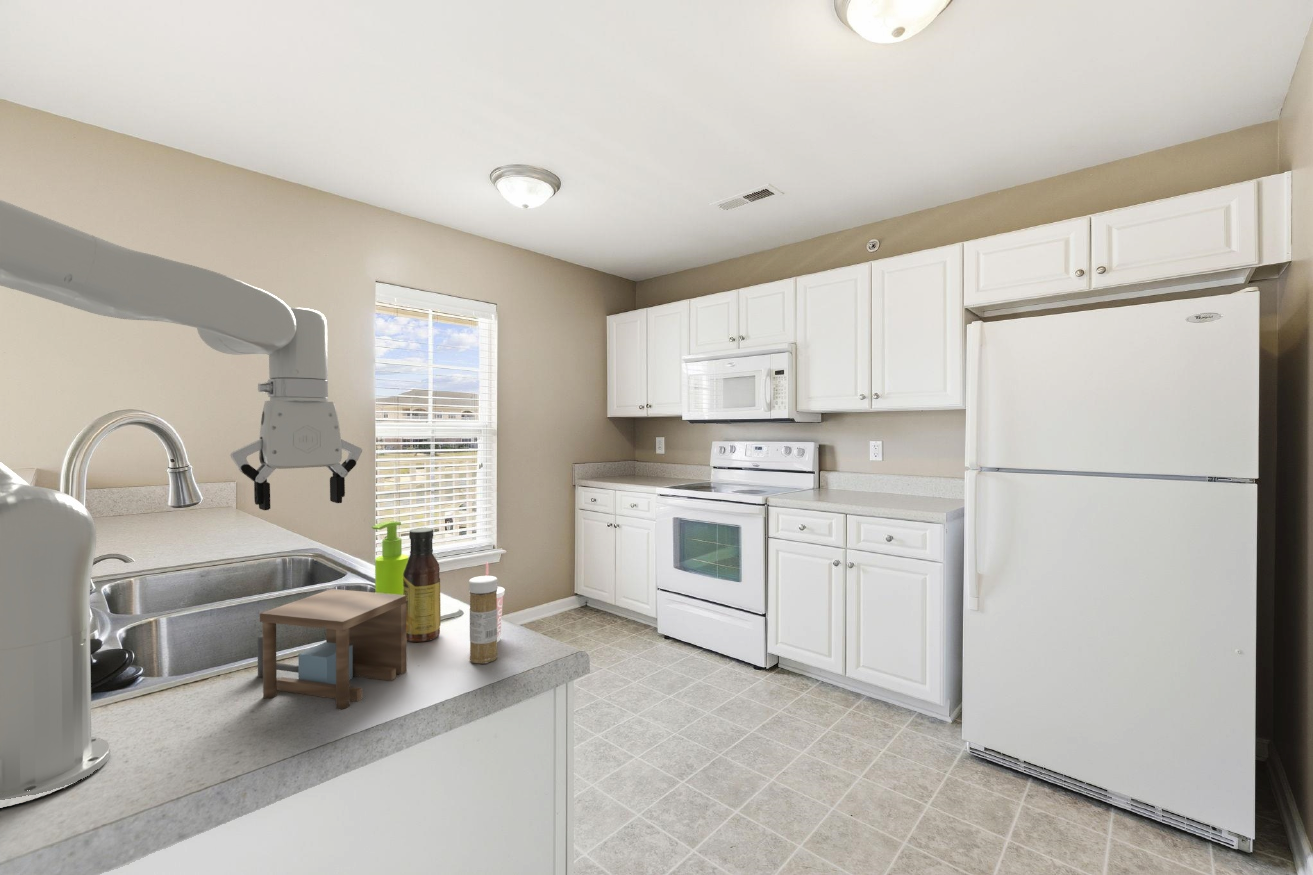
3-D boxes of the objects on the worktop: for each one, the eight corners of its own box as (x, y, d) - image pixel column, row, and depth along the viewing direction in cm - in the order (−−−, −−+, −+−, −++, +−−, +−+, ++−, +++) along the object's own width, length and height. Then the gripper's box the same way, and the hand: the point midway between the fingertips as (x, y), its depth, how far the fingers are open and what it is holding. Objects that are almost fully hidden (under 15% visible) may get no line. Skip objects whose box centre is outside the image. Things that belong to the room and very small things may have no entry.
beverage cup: (489, 648, 102) (489, 568, 102) (461, 643, 105) (461, 564, 104) (511, 637, 108) (511, 560, 108) (484, 632, 110) (484, 557, 110)
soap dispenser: (363, 629, 112) (363, 523, 111) (392, 618, 118) (392, 518, 118) (387, 633, 109) (387, 526, 109) (415, 622, 116) (415, 520, 116)
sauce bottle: (409, 632, 110) (409, 526, 110) (444, 630, 111) (444, 525, 111) (398, 645, 104) (398, 532, 103) (435, 643, 104) (434, 531, 104)
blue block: (326, 691, 85) (326, 650, 85) (245, 680, 89) (245, 640, 89) (352, 677, 90) (352, 638, 90) (274, 667, 94) (274, 629, 94)
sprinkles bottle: (490, 651, 101) (490, 573, 101) (502, 660, 97) (502, 578, 97) (464, 658, 98) (464, 577, 98) (475, 667, 94) (475, 583, 94)
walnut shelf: (343, 709, 80) (342, 621, 80) (260, 697, 83) (259, 613, 83) (406, 671, 93) (406, 595, 92) (332, 662, 96) (331, 588, 96)
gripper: (236, 389, 80) (239, 515, 80) (369, 393, 93) (371, 502, 93) (223, 391, 85) (226, 509, 85) (350, 394, 98) (352, 497, 98)
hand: (301, 505), depth 89 cm, fingers open, 9 cm apart
